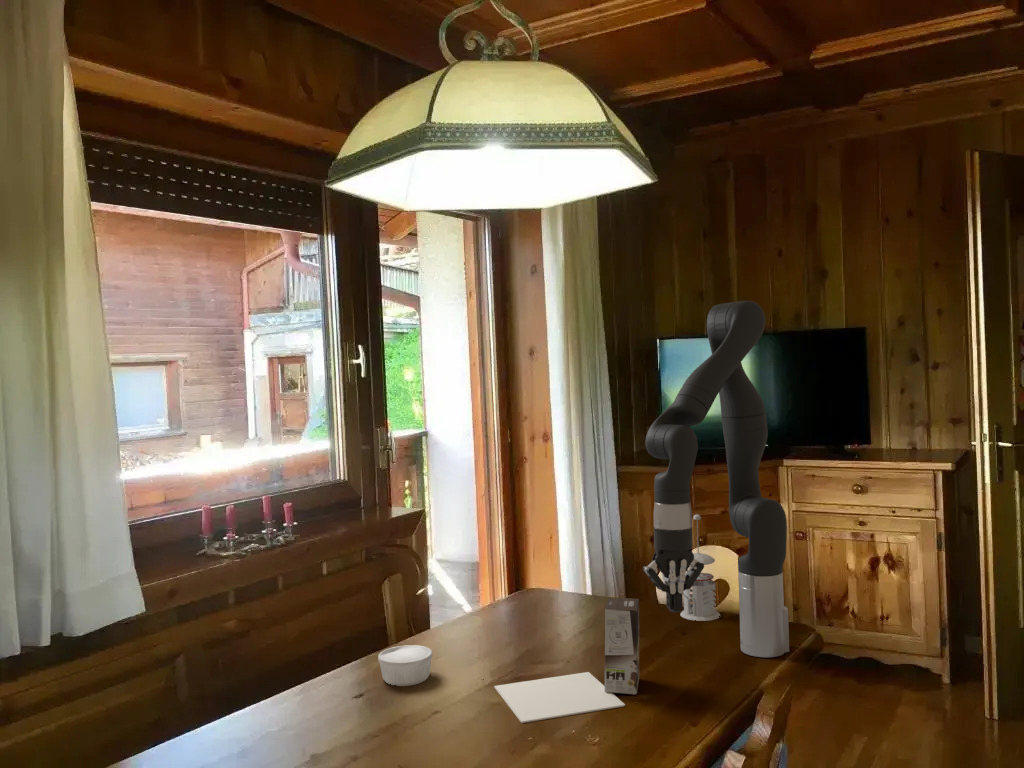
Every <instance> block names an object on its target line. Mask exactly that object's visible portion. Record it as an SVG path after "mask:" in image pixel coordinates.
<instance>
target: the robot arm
mask: <svg viewBox="0 0 1024 768" xmlns="http://www.w3.org/2000/svg"><path fill="white" fill-rule="evenodd" d="M765 327H766V315H765V312H764V310H763V308H762V307H761V305H759V303H757V302H755V301H752V300H739V301H731V302H726V303H725V302H724V303H718V304H716V305H713V306H711V309H710V310H709V312H708V314H707V318H706V331H707V339H708V343H709V347H710V351H711V352H710V353H711V354H710V355H709V357H708V358H707V359H706V360H704V361H703V362H702V363H701V364H700V365H698V367H696V368H695V369H694V370H693V371H692V372H691V374H689V376H688V377H687V378H686V379H685V381H684V383H683V384H682V386H681V388H680V390H679V391H678V393H677V395H676V396H675V398H674V400H673V402H671V404H670V405H669V406H668V407H667V408H665V410H664V411H663V412H662V413H661V414H660V415H659V416H658V417H657V418H656V419H655V420H654V421H653V423H652V424H651V425H650V427H649V428H648V430H647V433H646V436H645V444H644V445H645V449H646V451H647V453H648V454H649V455H650V456H651V457H652V458H655V459H660V460H669V463H668V467H667V470H664V471H661V472H658V473H657V474H656V475H655V476H654V481H653V482H654V483H653V490H654V491H653V493H654V496H653V497H654V503H653V504H654V506H653V548H654V553H653V556H652V561H651V562H650V563H649V564H648V565H644V566H643V567H642V571H643V572H644V573H645V574H646V576H647V577H648V578H649V580H650V581H651V582H652V583H653V584H654V586H655V587H656V589H658V590H660V591H661V592H662V593H663V592H664V593H666V595H665V597H666V598H665V599H666V600H665V602H666V603H665V604H666V605H665V606H666V608H667V609H668V611H669V612H672V613H681V609H683V607H684V601H683V592H684V590H686V589H692V585H693V584H694V582H695V581H696V579H697V578H698V576H699V575H700V573H702V572H703V570H704V568H705V565H704V564H703V563H701V562H698V561H697V560H696V559H694V554H693V514H692V512H693V511H692V506H691V505H692V504H691V485H690V484H691V479H692V475H693V471H694V467H695V463H696V458H697V454H698V449H699V443H698V437H697V435H696V433H695V431H694V430H693V429H692V428H691V427H694V426H697V425H700V424H701V423H702V422H703V421H704V420H705V418H706V417H707V415H708V413H709V412H710V409H711V407H712V405H713V404H714V402H715V400H716V398H717V397H718V396H719V403H720V414H721V415H720V416H721V424H722V425H721V426H722V432H723V433H722V434H723V439H724V444H725V445H724V446H725V447H724V448H725V455H726V456H725V457H726V465H727V475H728V476H727V477H728V512H729V513H728V514H729V521H730V524H731V527H732V529H733V530H734V531H735V532H736V533H737V534H738V535H740V536H742V537H744V538H748V551H747V553H746V554H743V555H741V556H740V557H739V558H738V561H737V570H738V571H737V573H738V575H737V576H738V578H737V579H738V580H737V581H738V604H739V606H738V607H739V634H740V635H739V636H740V637H739V639H740V640H739V642H740V651H741V652H742V653H744V654H746V655H748V656H752V657H758V658H775V657H776V658H777V657H780V656H783V655H784V654H785V653H788V652H790V638H789V637H790V635H789V634H790V633H789V631H790V630H789V609H788V607H787V606H785V604H784V603H785V602H784V600H785V599H784V598H785V597H784V573H783V572H784V571H783V570H784V569H783V568H784V563H785V560H786V557H787V538H788V537H787V534H788V525H787V523H788V522H787V515H786V512H785V509H784V507H783V506H782V504H781V503H780V502H778V501H777V500H775V499H772V498H767V497H762V492H761V487H760V479H759V473H760V472H759V470H760V469H759V467H760V463H761V461H762V457H763V455H764V451H765V449H766V445H767V441H768V434H769V432H768V423H767V421H768V419H767V414H766V413H767V412H766V407H765V403H764V401H763V398H762V397H761V395H760V393H759V392H758V390H757V389H756V387H755V386H754V384H753V383H752V381H751V380H750V378H749V377H748V375H747V373H746V371H745V369H744V367H743V365H742V362H743V360H744V359H745V358H746V356H747V355H748V354H749V353H750V352H751V350H752V349H753V348H754V346H755V345H756V344H757V343H758V341H759V340H760V339H761V337H762V335H763V333H764V331H765ZM687 570H688V572H687ZM658 571H659V572H660V573H661V575H662V578H661V577H660V576H659V575H658V573H659V572H658Z"/></svg>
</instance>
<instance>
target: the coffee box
mask: <svg viewBox="0 0 1024 768" xmlns="http://www.w3.org/2000/svg"><path fill="white" fill-rule="evenodd" d="M639 680H640V599H639V598H625V597H624V598H623V597H622V598H621V597H619V598H617V597H616V598H614V597H612V598H611V597H608V599H607V601H606V604H605V608H604V686H605V692H612V693H613V694H626V695H637V694H638V688H639V682H640V681H639Z"/></svg>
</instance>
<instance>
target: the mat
mask: <svg viewBox="0 0 1024 768" xmlns="http://www.w3.org/2000/svg"><path fill="white" fill-rule="evenodd" d="M493 687H494V689H495V690H496V692H497V693H498V694H499V695H500V696H501V698H502V699H503V701H504V702H505V704H506V705H507V706H508V708H509V709H510V710H511V711H512V712H513V714H514V715H515V716H516V718H517V720H519V722H520V723H521V724H524V723H531V722H537V721H542V720H549V719H555V718H561V717H568V716H573V715H580V714H584V713H585V714H586V713H592V712H598V711H603V710H609V709H616V708H623V707H625V706H626V704H625V703H624V702H623V701H622V700H620V698H618V697H617V696H616V695H615V693H612V692H605V684H603V683H602V682H601V681H599V679H597V678H596V677H595V676H593V674H592V673H590V672H589V671H586V672H578V673H571V674H566V675H560V676H558V675H557V676H553V677H551V676H550V677H544V678H539V679H533V680H526V681H525V680H524V681H519V682H511V683H506V684H499V685H494V686H493Z"/></svg>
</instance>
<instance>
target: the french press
mask: <svg viewBox="0 0 1024 768" xmlns="http://www.w3.org/2000/svg"><path fill="white" fill-rule="evenodd" d="M692 520H696V538H697V541H696V543H697V544H699V520H702V517H701V515H700V514H697V513H696V514H694V515H692ZM699 550H700V549H699V546H697V552H696V553H695V552H694V553H693V554H694V559H696V560H697V561H698V562H701V563H703V564H704V566H707V565H712V564H713V563H715V562H716V559H715V558H714V557H713V556H711V555H709V554H706V553H702V552H699ZM688 570H689V569H688ZM688 570H687V571H686V573H687V572H688ZM713 579H714V575H713V574H712V573H708V572H703V571H701V573H700V575H699V576H698V578H697V579H696V581H695V582H694V584H693V585H692V587H691V588H690V589H686V590H684V591H683V593H682V596H683V610H682V611H680V612H679V613H680V617H682V618H683V619H686V620H688V621H695V620H696V621H698V622H700V621H701V622H703V621H704V622H706V621H707V622H708V621H715V620H717V619H719V618H720V617H721V614H720V612H719V611H718V610H717V608H716V606H717V603H716V602H717V598H715V597H716V596H717V595H716V594H717V593H715V592H716V582H715V580H713ZM719 616H720V617H719Z"/></svg>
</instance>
